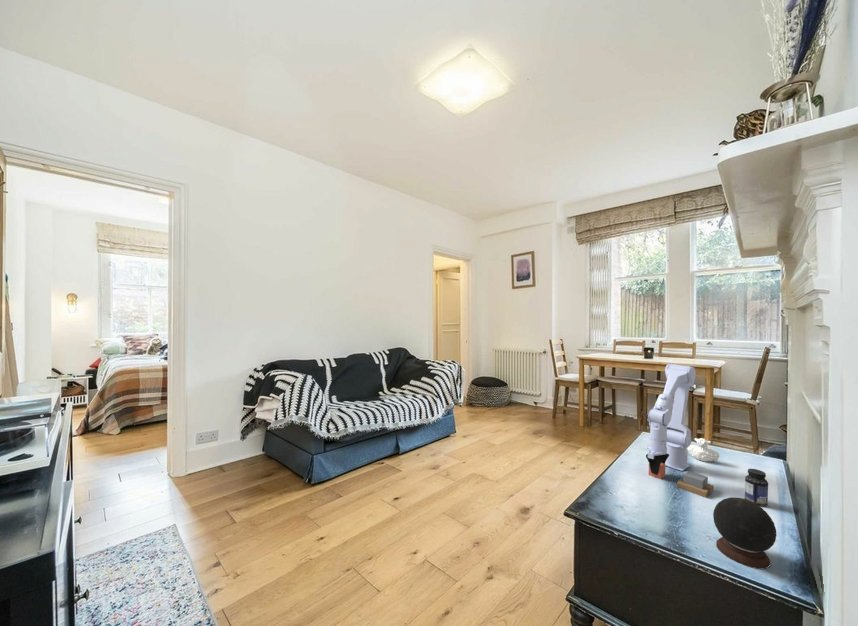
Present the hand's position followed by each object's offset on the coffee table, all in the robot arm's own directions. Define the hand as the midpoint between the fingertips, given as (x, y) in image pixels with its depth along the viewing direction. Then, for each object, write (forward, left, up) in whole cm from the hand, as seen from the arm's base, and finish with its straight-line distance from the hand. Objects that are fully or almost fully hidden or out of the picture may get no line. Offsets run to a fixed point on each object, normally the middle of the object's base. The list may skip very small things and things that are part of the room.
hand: (656, 471), depth 145 cm
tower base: (0, +13, -2) cm, 13 cm away
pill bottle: (-7, +29, -2) cm, 30 cm away
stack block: (0, 0, -1) cm, 1 cm away
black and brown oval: (+33, +33, -2) cm, 47 cm away
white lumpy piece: (-35, +6, -2) cm, 36 cm away
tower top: (0, +13, 0) cm, 13 cm away
